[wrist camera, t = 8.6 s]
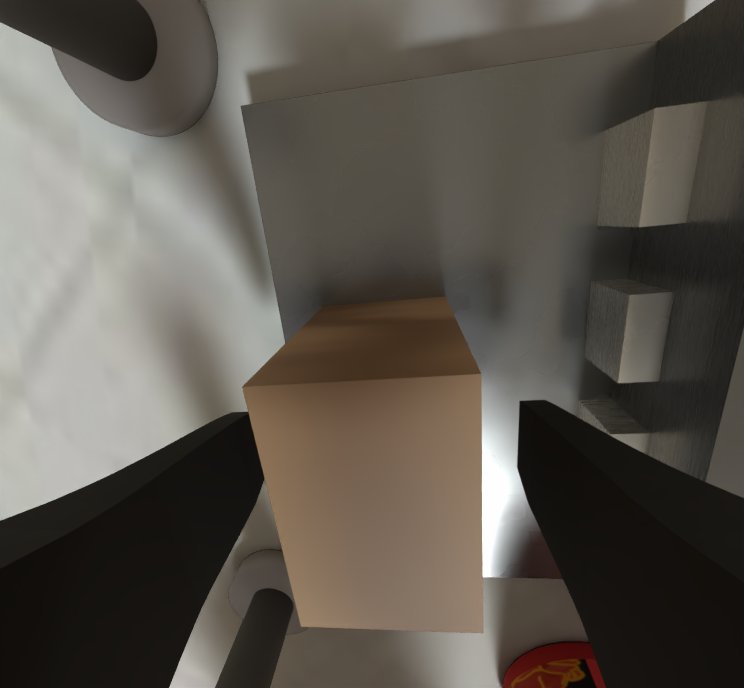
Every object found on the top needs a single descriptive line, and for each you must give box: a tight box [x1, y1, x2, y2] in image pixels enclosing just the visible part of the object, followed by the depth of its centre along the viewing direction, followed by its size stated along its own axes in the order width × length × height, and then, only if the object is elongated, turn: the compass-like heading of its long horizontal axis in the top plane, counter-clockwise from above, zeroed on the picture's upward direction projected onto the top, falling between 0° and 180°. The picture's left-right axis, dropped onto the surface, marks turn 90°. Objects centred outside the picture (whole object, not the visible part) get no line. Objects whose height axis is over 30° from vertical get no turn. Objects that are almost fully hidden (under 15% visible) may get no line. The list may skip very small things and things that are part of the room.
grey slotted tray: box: [241, 0, 744, 579], centre depth 11 cm, size 12×18×5 cm, turn 6°
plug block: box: [242, 297, 483, 633], centre depth 10 cm, size 4×6×6 cm, turn 6°
